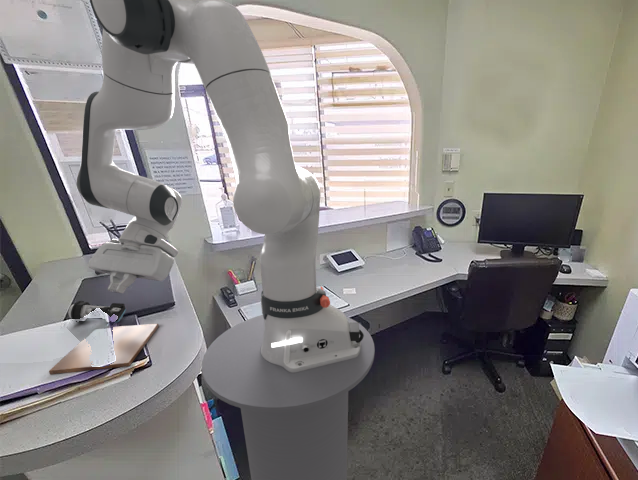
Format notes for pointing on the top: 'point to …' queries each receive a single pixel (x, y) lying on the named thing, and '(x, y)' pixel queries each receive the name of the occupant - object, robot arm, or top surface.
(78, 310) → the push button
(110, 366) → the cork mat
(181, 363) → the top surface
